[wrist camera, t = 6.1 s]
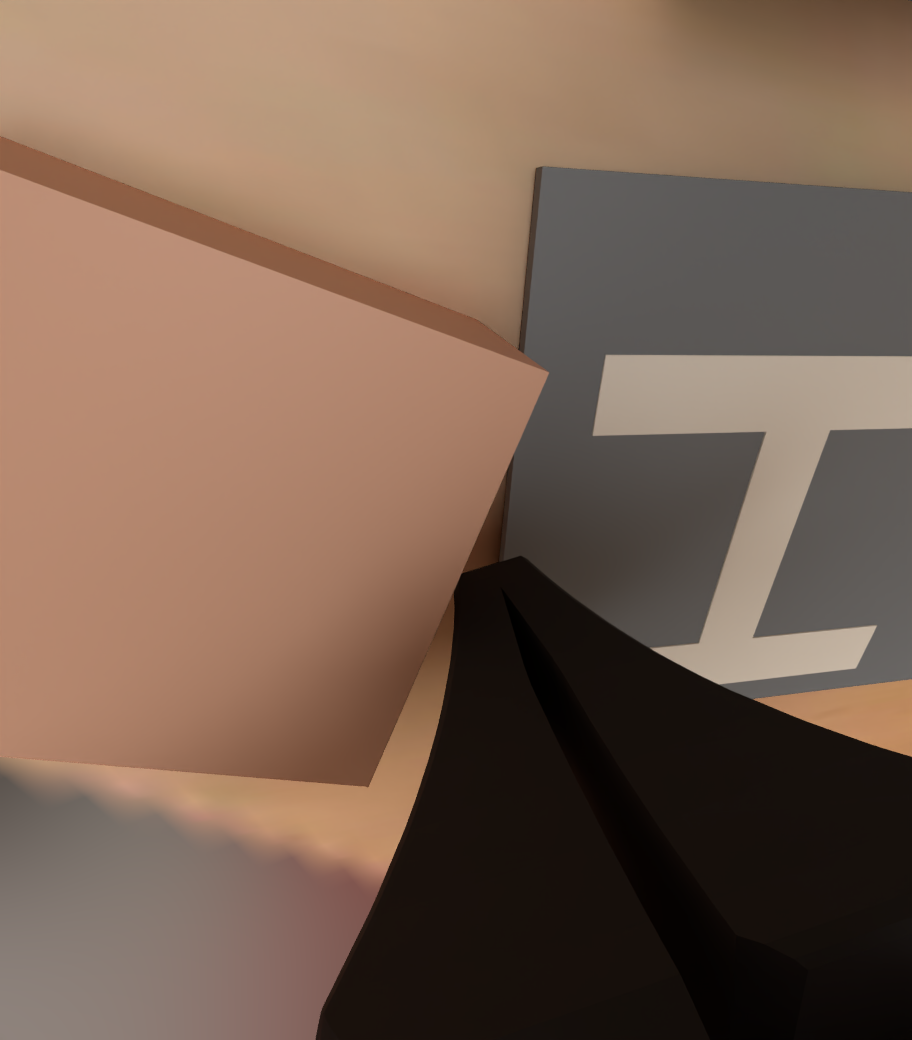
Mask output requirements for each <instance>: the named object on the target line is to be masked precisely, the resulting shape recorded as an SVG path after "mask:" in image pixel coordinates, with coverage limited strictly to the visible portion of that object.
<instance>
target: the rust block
mask: <svg viewBox="0 0 912 1040" xmlns="http://www.w3.org/2000/svg"><path fill="white" fill-rule="evenodd" d="M548 374H549V372H548V371H547V370H545V369H544V368H543V367H541V366H540V365H538V364H537V363H536V362H534V361H533V360H532V359H530V358H529V357H527V356H526V355H525V354H523V353H522V352H521V351H519V350H518V349H516V348H515V347H514V346H512V345H511V344H509V343H508V342H507V341H505V340H504V339H503V338H501V337H500V336H498V335H497V334H496V333H494V332H493V331H492V330H490V329H489V328H487V327H486V326H485V325H483V324H482V323H481V322H479V321H478V320H476V319H473V318H471V317H468V316H466V315H463V314H460V313H458V312H455V311H453V310H450V309H447V308H445V307H442V306H440V305H437V304H434V303H432V302H429V301H427V300H424V299H421V298H419V297H416V296H414V295H411V294H408V293H406V292H403V291H401V290H398V289H395V288H393V287H390V286H388V285H385V284H382V283H380V282H377V281H375V280H372V279H369V278H367V277H364V276H362V275H359V274H356V273H354V272H351V271H349V270H346V269H343V268H341V267H338V266H336V265H333V264H331V263H328V262H325V261H323V260H320V259H318V258H315V257H312V256H310V255H307V254H305V253H302V252H299V251H297V250H294V249H292V248H289V247H286V246H284V245H281V244H279V243H276V242H273V241H271V240H268V239H266V238H263V237H260V236H258V235H255V234H253V233H250V232H247V231H245V230H242V229H240V228H237V227H234V226H232V225H229V224H227V223H224V222H221V221H219V220H216V219H214V218H211V217H208V216H206V215H203V214H201V213H198V212H195V211H193V210H190V209H188V208H185V207H182V206H180V205H177V204H175V203H172V202H169V201H167V200H164V199H162V198H159V197H156V196H154V195H151V194H149V193H146V192H144V191H141V190H138V189H136V188H133V187H131V186H128V185H125V184H123V183H120V182H118V181H115V180H112V179H110V178H107V177H105V176H102V175H99V174H97V173H94V172H92V171H89V170H86V169H84V168H81V167H79V166H76V165H73V164H71V163H68V162H66V161H63V160H60V159H58V158H55V157H53V156H50V155H47V154H45V153H42V152H40V151H37V150H34V149H32V148H29V147H27V146H24V145H21V144H19V143H16V142H14V141H11V140H8V139H6V138H3V137H1V136H0V757H11V758H23V759H36V760H48V761H60V762H72V763H85V764H97V765H109V766H121V767H133V768H146V769H158V770H170V771H182V772H195V773H207V774H219V775H231V776H243V777H256V778H268V779H280V780H292V781H305V782H317V783H329V784H341V785H353V786H366V787H369V784H370V782H371V780H372V777H373V775H374V773H375V771H376V768H377V766H378V764H379V761H380V759H381V757H382V755H383V752H384V750H385V748H386V745H387V743H388V741H389V739H390V736H391V734H392V732H393V729H394V727H395V725H396V723H397V720H398V718H399V716H400V713H401V711H402V709H403V706H404V704H405V702H406V700H407V697H408V695H409V693H410V690H411V688H412V686H413V684H414V681H415V679H416V677H417V674H418V672H419V670H420V668H421V665H422V663H423V661H424V658H425V656H426V654H427V652H428V649H429V647H430V645H431V642H432V640H433V638H434V635H435V633H436V631H437V629H438V626H439V624H440V622H441V619H442V617H443V615H444V613H445V610H446V608H447V606H448V603H449V601H450V599H451V597H452V594H453V592H454V590H455V587H456V585H457V583H458V581H459V578H460V576H461V574H462V571H463V569H464V567H465V564H466V562H467V560H468V558H469V555H470V553H471V551H472V548H473V546H474V544H475V542H476V539H477V537H478V535H479V532H480V530H481V528H482V526H483V523H484V521H485V519H486V516H487V514H488V512H489V510H490V507H491V505H492V503H493V500H494V498H495V496H496V493H497V491H498V489H499V487H500V484H501V482H502V480H503V477H504V475H505V473H506V471H507V468H508V466H509V464H510V461H511V459H512V457H513V455H514V452H515V450H516V448H517V445H518V443H519V441H520V439H521V436H522V434H523V432H524V429H525V427H526V425H527V422H528V420H529V418H530V416H531V413H532V411H533V409H534V406H535V404H536V402H537V400H538V397H539V395H540V393H541V390H542V388H543V386H544V384H545V381H546V379H547V377H548Z"/></svg>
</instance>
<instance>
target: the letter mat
mask: <svg viewBox="0 0 912 1040" xmlns="http://www.w3.org/2000/svg"><path fill="white" fill-rule="evenodd" d="M519 351H521V352H522V353H523V354H525V355H526V356H527V357H529V358H530V359H532V360H533V361H534V362H536V363H537V364H538V365H540V366H541V367H543V368H544V369H545V370H547V371H548V372H549V374H548V377H547V379H546V381H545V384H544V386H543V388H542V390H541V393H540V395H539V397H538V400H537V402H536V404H535V406H534V409H533V411H532V413H531V416H530V418H529V420H528V422H527V425H526V427H525V429H524V432H523V434H522V436H521V439H520V441H519V443H518V445H517V448H516V450H515V452H514V455H513V457H512V459H511V461H510V464H509V466H508V473H507V484H506V494H505V505H504V515H503V526H502V536H501V547H500V557H499V562H501V561H505V560H508V559H511V558H514V557H518V556H523V557H525V558H526V559H528V560H529V561H530V562H531V563H532V564H534V565H535V566H536V567H537V568H538V569H539V570H540V571H541V572H543V573H544V574H545V575H546V576H547V577H549V578H550V579H551V580H552V581H553V582H555V583H556V584H557V585H558V586H560V587H561V588H562V589H563V590H565V591H566V592H567V593H569V594H570V595H571V596H573V597H574V598H575V599H576V600H578V601H579V602H581V603H582V604H583V605H585V606H586V607H588V608H589V609H590V610H592V611H593V612H595V613H596V614H597V615H599V616H600V617H602V618H603V619H605V620H606V621H608V622H609V623H611V624H612V625H614V626H615V627H617V628H618V629H620V630H621V631H623V632H624V633H626V634H628V635H629V636H631V637H632V638H634V639H636V640H637V641H639V642H640V643H642V644H644V645H645V646H647V647H649V648H650V649H652V650H654V651H656V652H657V653H659V654H661V655H663V656H664V657H666V658H668V659H670V660H672V661H673V662H675V663H677V664H679V665H681V666H683V667H685V668H687V669H689V670H691V671H693V672H694V673H696V674H698V675H700V676H702V677H704V678H706V679H708V680H711V681H713V682H715V683H717V684H719V685H721V686H723V687H725V688H727V689H729V690H731V691H734V692H736V693H739V694H741V695H743V696H746V697H748V698H751V699H755V698H763V697H771V696H779V695H787V694H795V693H803V692H811V691H820V690H828V689H836V688H844V687H852V686H860V685H868V684H876V683H884V682H892V681H900V680H908V679H912V192H898V191H884V190H870V189H856V188H842V187H827V186H813V185H799V184H785V183H770V182H756V181H742V180H728V179H713V178H699V177H685V176H671V175H657V174H642V173H628V172H614V171H600V170H585V169H571V168H557V167H538V168H536V178H535V188H534V199H533V209H532V220H531V230H530V241H529V251H528V262H527V272H526V283H525V294H524V304H523V315H522V325H521V336H520V346H519Z"/></svg>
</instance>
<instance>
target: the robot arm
mask: <svg viewBox="0 0 912 1040" xmlns="http://www.w3.org/2000/svg"><path fill="white" fill-rule="evenodd" d="M454 605H455V613H454V633H453V642H452V652H451V661H450V668H449V673H448V679H447V684H446V690H445V695H444V701H443V706H442V710H441V715H440V719H439V723H438V727H437V731H436V735H435V739H434V742H433V746H432V749H431V753H430V757H429V760H428V763H427V766H426V769H425V772H424V775H423V779H422V782H421V785H420V788H419V791H418V794H417V797H416V800H415V803H414V806H413V808H412V811H411V814H410V817H409V819H408V822H407V825H406V827H405V830H404V832H403V835H402V837H401V840H400V842H399V844H398V847H397V849H396V852H395V854H394V856H393V859H392V861H391V864H390V866H389V868H388V871H387V873H386V876H385V878H384V880H383V883H382V885H381V888H380V890H379V892H378V895H377V897H376V899H375V901H374V904H373V906H372V908H371V910H370V912H369V915H368V917H367V919H366V921H365V923H364V925H363V927H362V929H361V931H360V933H359V935H358V937H357V939H356V941H355V943H354V945H353V947H352V949H351V951H350V953H349V955H348V957H347V959H346V961H345V963H344V965H343V967H342V969H341V971H340V973H339V975H338V977H337V980H336V982H335V983H334V986H333V988H332V990H331V992H330V994H329V996H328V998H327V1000H326V1002H325V1004H324V1006H323V1008H322V1011H321V1015H320V1019H319V1024H318V1030H317V1035H316V1040H912V757H910V756H907V755H903V754H900V753H897V752H893V751H890V750H887V749H883V748H880V747H877V746H874V745H871V744H868V743H865V742H862V741H859V740H857V739H854V738H851V737H848V736H845V735H843V734H840V733H837V732H834V731H831V730H829V729H826V728H823V727H820V726H817V725H814V724H812V723H809V722H806V721H804V720H801V719H799V718H796V717H793V716H791V715H789V714H786V713H784V712H781V711H779V710H777V709H774V708H772V707H770V706H767V705H765V704H762V703H760V702H758V701H755V700H753V699H751V698H748V697H746V696H743V695H741V694H739V693H736V692H734V691H731V690H729V689H727V688H725V687H723V686H721V685H719V684H717V683H715V682H713V681H711V680H708V679H706V678H704V677H702V676H700V675H698V674H696V673H694V672H693V671H691V670H689V669H687V668H685V667H683V666H681V665H679V664H677V663H675V662H673V661H672V660H670V659H668V658H666V657H664V656H663V655H661V654H659V653H657V652H656V651H654V650H652V649H650V648H649V647H647V646H645V645H644V644H642V643H640V642H639V641H637V640H636V639H634V638H632V637H631V636H629V635H628V634H626V633H624V632H623V631H621V630H620V629H618V628H617V627H615V626H614V625H612V624H611V623H609V622H608V621H606V620H605V619H603V618H602V617H600V616H599V615H597V614H596V613H595V612H593V611H592V610H590V609H589V608H588V607H586V606H585V605H583V604H582V603H581V602H579V601H578V600H576V599H575V598H574V597H573V596H571V595H570V594H569V593H567V592H566V591H565V590H563V589H562V588H561V587H560V586H558V585H557V584H556V583H555V582H553V581H552V580H551V579H550V578H549V577H547V576H546V575H545V574H544V573H543V572H541V571H540V570H539V569H538V568H537V567H536V566H535V565H534V564H532V563H531V562H530V561H529V560H528V559H526V558H525V557H523V556H518V557H514V558H511V559H508V560H505V561H501V562H498V563H495V564H492V565H488V566H485V567H482V568H478V569H475V570H472V571H469V572H465V573H462V574H461V576H460V578H459V581H458V583H457V585H456V587H455V590H454Z"/></svg>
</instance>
